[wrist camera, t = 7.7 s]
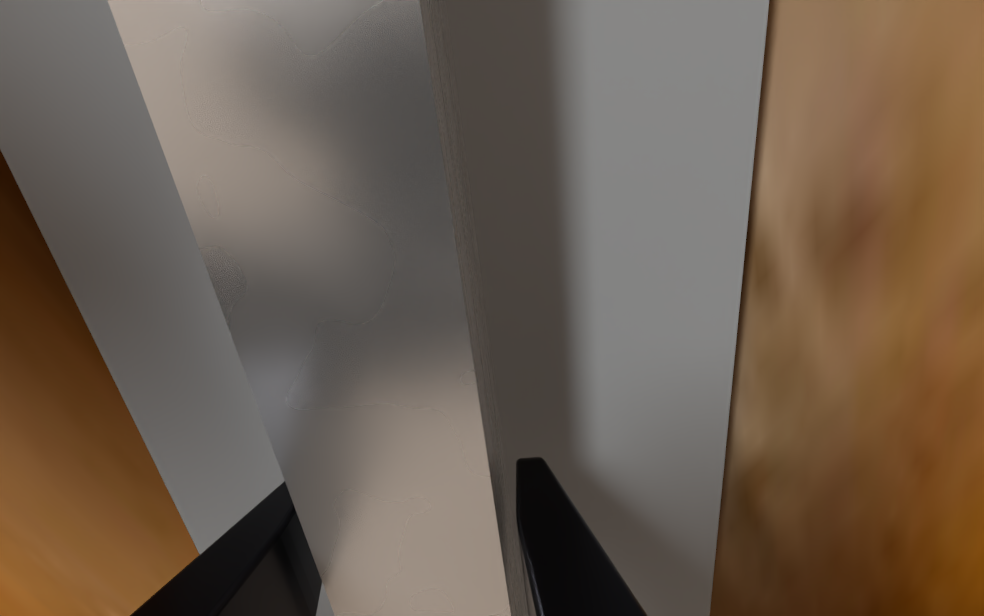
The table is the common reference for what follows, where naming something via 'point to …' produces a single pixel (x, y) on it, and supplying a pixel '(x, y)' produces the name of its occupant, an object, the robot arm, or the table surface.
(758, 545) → the table surface
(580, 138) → the mat
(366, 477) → the rail
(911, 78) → the table surface
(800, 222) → the table surface
